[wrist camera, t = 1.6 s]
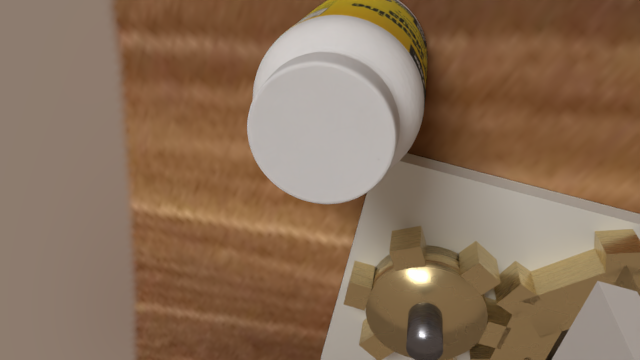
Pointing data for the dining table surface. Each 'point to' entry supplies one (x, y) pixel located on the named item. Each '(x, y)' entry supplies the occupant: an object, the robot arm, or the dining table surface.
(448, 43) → the dining table surface
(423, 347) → the gear
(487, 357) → the gear
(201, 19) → the dining table surface
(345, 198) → the pill bottle
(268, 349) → the dining table surface
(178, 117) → the dining table surface
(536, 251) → the gear board
